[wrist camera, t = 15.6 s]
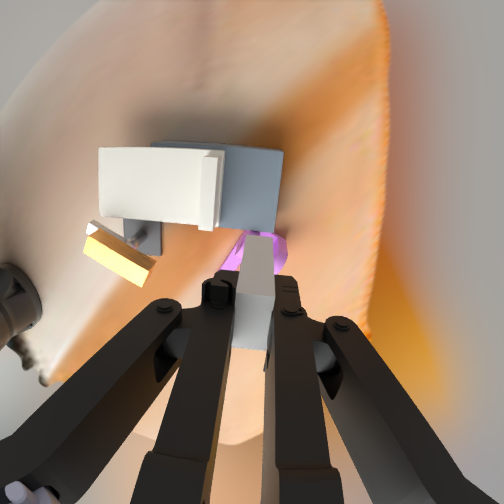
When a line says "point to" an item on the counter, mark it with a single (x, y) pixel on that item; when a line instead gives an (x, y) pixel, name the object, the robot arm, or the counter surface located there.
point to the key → (119, 252)
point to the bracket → (237, 252)
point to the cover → (162, 184)
